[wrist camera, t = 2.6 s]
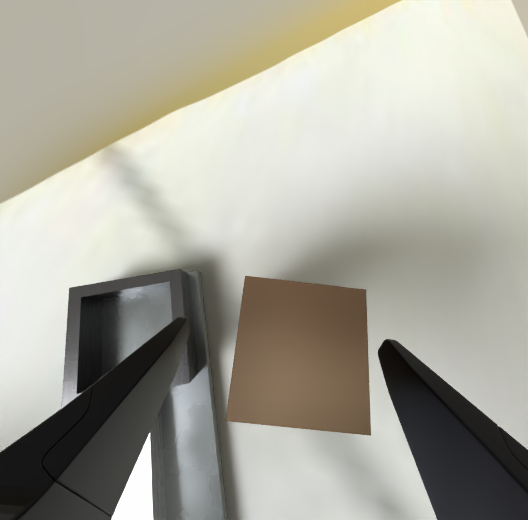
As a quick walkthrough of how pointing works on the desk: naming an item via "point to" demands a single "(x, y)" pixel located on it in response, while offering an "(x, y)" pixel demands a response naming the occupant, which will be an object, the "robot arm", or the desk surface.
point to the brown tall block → (301, 357)
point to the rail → (176, 401)
